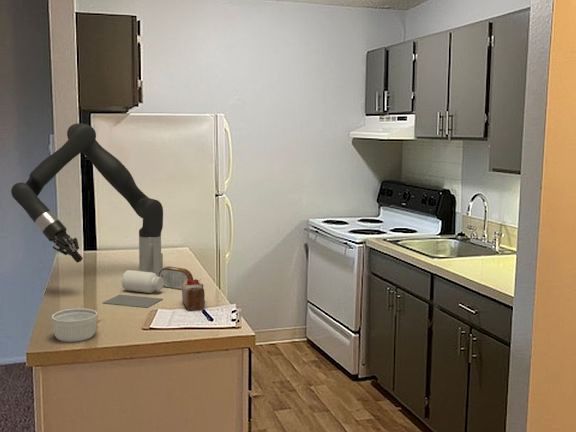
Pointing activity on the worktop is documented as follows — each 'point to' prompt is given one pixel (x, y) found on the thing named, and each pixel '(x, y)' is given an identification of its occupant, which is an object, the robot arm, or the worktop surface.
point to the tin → (175, 277)
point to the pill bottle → (141, 281)
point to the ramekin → (74, 324)
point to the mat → (133, 301)
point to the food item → (193, 295)
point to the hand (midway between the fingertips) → (80, 260)
